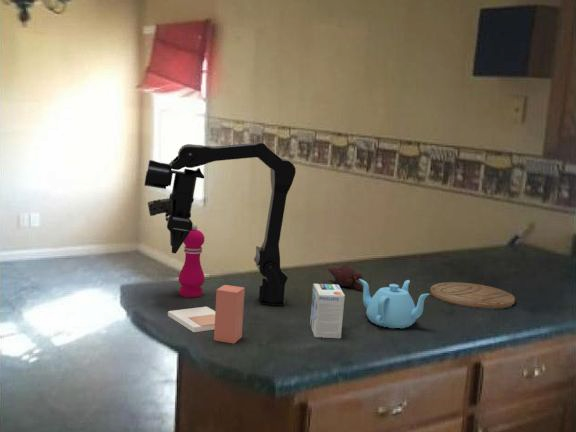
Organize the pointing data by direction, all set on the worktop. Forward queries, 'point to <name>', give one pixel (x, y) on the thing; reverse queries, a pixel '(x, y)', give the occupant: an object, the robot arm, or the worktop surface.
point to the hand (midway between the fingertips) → (173, 249)
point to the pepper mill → (192, 265)
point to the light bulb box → (327, 310)
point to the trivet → (472, 295)
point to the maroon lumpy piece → (346, 276)
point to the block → (229, 313)
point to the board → (195, 318)
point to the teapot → (392, 306)
